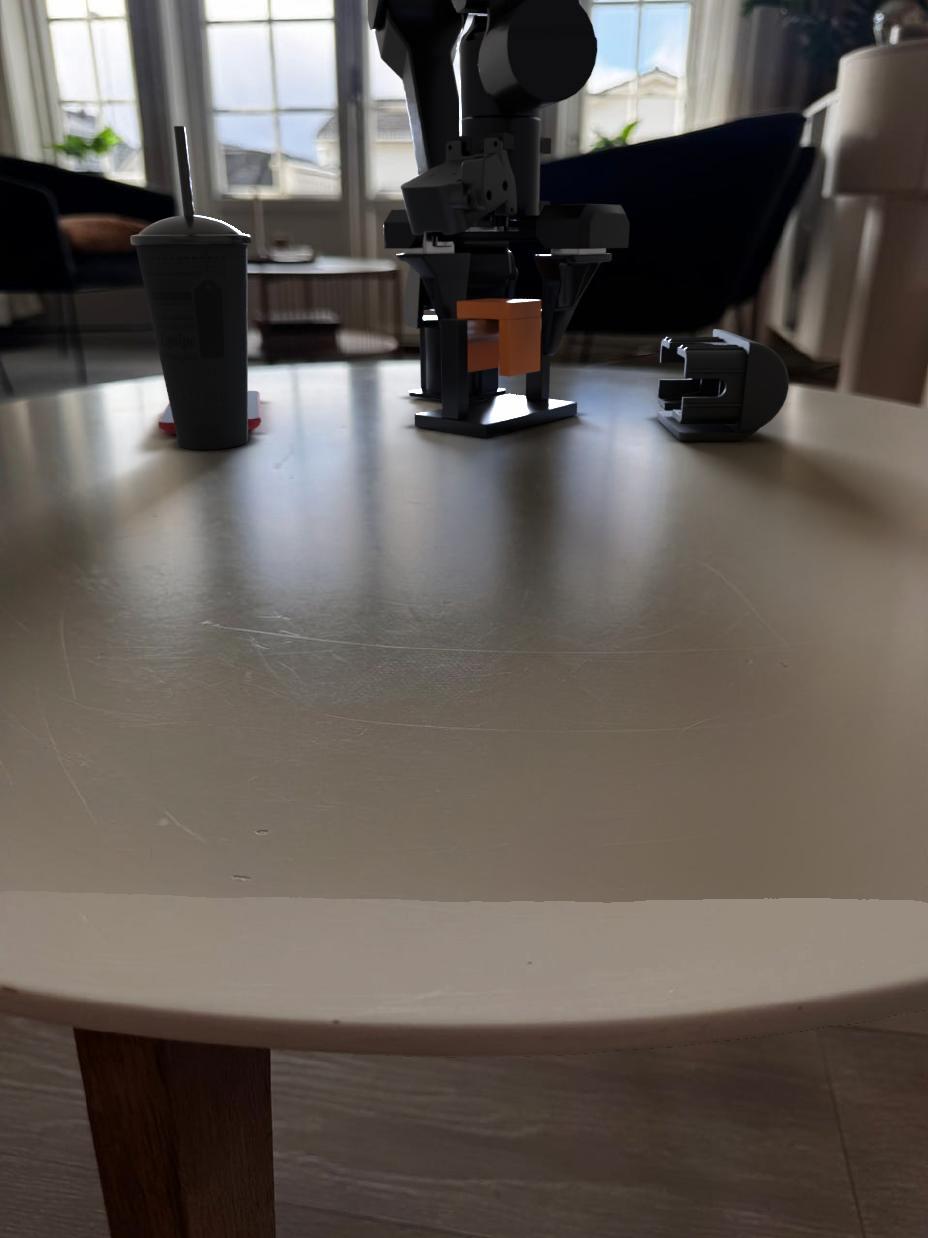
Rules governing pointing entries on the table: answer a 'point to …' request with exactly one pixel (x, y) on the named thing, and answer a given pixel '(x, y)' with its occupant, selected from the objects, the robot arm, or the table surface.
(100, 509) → the table surface
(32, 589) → the table surface
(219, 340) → the drinking cup
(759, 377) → the end cap
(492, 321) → the rack
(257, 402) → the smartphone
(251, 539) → the table surface
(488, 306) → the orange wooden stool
